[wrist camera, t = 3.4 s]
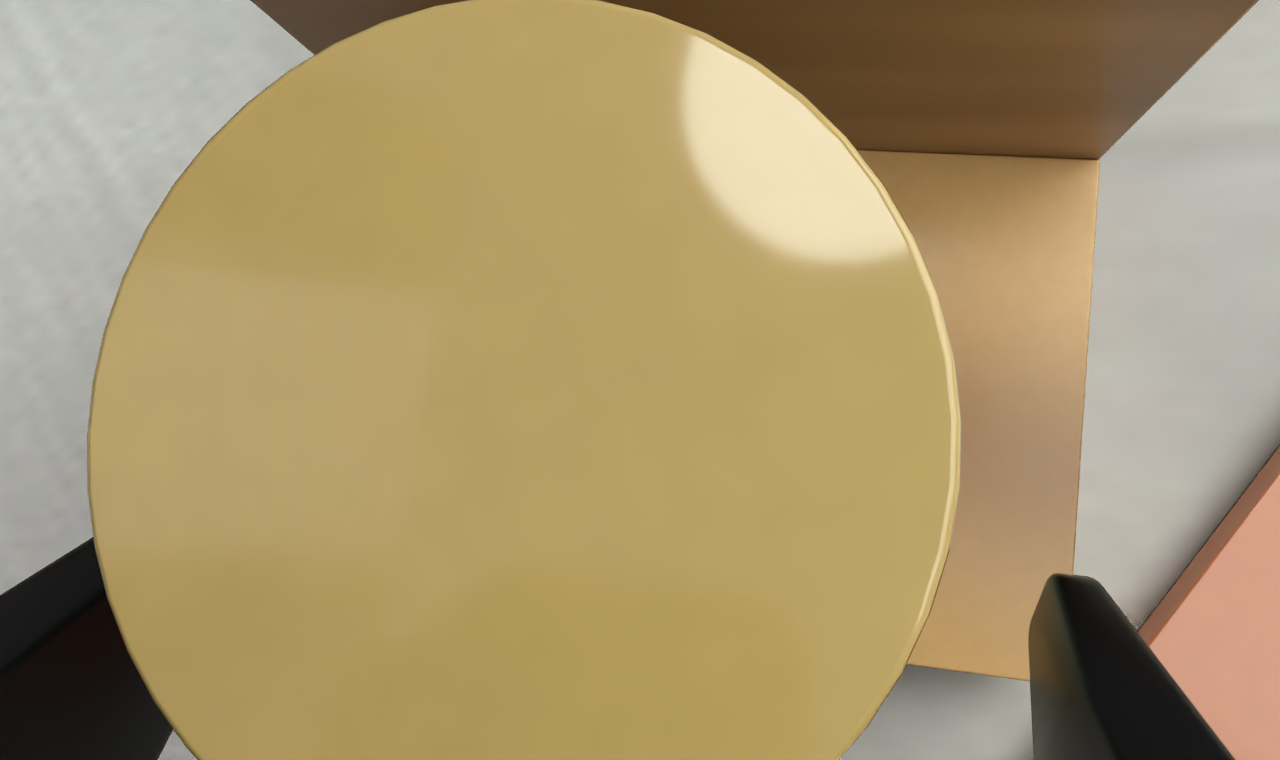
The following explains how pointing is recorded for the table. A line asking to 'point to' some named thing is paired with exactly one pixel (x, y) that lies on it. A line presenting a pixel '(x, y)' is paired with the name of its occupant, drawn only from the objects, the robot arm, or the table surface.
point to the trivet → (1230, 624)
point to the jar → (524, 408)
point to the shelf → (965, 226)
